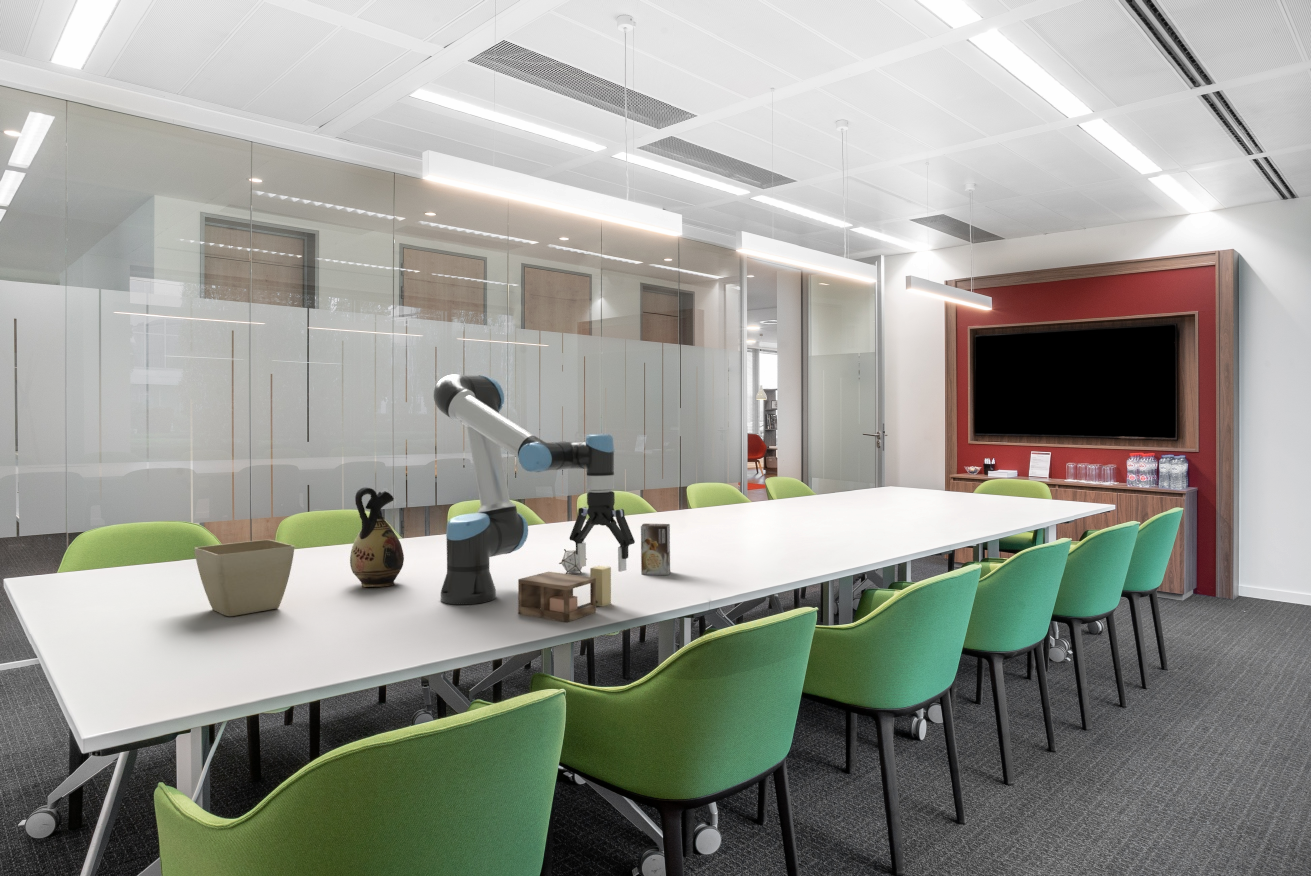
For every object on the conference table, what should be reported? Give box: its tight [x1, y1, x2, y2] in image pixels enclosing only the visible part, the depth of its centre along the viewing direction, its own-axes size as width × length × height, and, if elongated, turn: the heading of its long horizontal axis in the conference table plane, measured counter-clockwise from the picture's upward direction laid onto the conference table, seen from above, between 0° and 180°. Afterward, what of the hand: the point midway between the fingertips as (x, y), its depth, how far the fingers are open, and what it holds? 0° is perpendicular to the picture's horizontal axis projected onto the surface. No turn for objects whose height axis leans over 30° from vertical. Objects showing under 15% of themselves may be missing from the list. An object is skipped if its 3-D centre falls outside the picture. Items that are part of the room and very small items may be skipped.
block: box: [550, 565, 612, 612], centre depth 203 cm, size 20×5×10 cm, turn 148°
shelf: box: [517, 571, 597, 623], centre depth 200 cm, size 12×16×9 cm
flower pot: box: [193, 539, 296, 617], centre depth 204 cm, size 19×19×17 cm
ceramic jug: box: [349, 486, 405, 588], centre depth 234 cm, size 17×15×30 cm
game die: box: [558, 548, 588, 574], centre depth 253 cm, size 9×8×10 cm
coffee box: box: [640, 523, 671, 576], centre depth 253 cm, size 9×6×16 cm
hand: (601, 568), depth 210 cm, fingers open, 13 cm apart
